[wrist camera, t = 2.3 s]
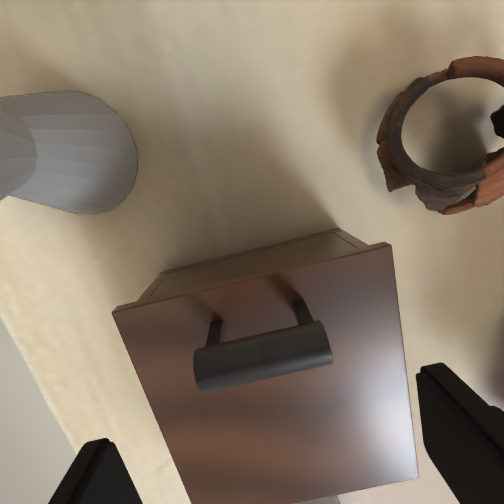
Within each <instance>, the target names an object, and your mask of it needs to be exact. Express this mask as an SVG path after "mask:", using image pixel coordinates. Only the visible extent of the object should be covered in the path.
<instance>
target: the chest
mask: <svg viewBox="0 0 504 504" xmlns="http://www.w3.org/2000/svg"><path fill="white" fill-rule="evenodd" d="M365 246H369V245H367V244H366V243H364V242H362V241H361V240H359V239H357V238H355V237H354V236H352V235H350V234H349V233H347V232H345V231H343V230H342V229H336V230H332V231H327V232H323V233H319V234H315V235H311V236H307V237H303V238H299V239H295V240H291V241H287V242H283V243H278V244H274V245H270V246H266V247H262V248H258V249H254V250H250V251H246V252H242V253H238V254H234V255H230V256H225V257H221V258H217V259H213V260H209V261H205V262H201V263H197V264H193V265H189V266H185V267H181V268H177V269H172V270H168V271H164V272H161V273H160V274H159V276H158V277H157V278H156V279H155V280H154V281H153V283H152V284H151V285H150V286H149V287H148V289H147V290H146V291H145V292H144V293H143V295H142V296H141V297H140V298H139V299H138V300H137V301H141V300H145V299H149V298H154V297H158V296H162V295H166V294H170V293H174V292H178V291H183V290H187V289H191V288H195V287H199V286H203V285H207V284H212V283H216V282H220V281H224V280H228V279H232V278H236V277H240V276H245V275H249V274H253V273H257V272H261V271H265V270H269V269H274V268H278V267H282V266H286V265H290V264H294V263H298V262H303V261H307V260H311V259H315V258H319V257H323V256H327V255H331V254H336V253H340V252H344V251H348V250H352V249H356V248H360V247H365Z"/></svg>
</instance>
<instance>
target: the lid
mask: <svg viewBox="0 0 504 504" xmlns="http://www.w3.org/2000/svg"><path fill="white" fill-rule="evenodd" d="M112 315H113V318H114V320H115V323H116V325H117V327H118V330H119V332H120V334H121V337H122V339H123V342H124V344H125V346H126V349H127V351H128V353H129V356H130V358H131V361H132V363H133V365H134V368H135V370H136V373H137V375H138V377H139V380H140V382H141V384H142V387H143V389H144V392H145V394H146V396H147V399H148V401H149V404H150V406H151V408H152V411H153V413H154V415H155V418H156V420H157V423H158V425H159V427H160V430H161V432H162V435H163V437H164V439H165V442H166V444H167V446H168V449H169V451H170V454H171V456H172V458H173V461H174V463H175V465H176V468H177V470H178V473H179V475H180V477H181V480H182V482H183V485H184V487H185V489H186V492H187V494H188V496H189V499H190V501H191V504H295V503H300V502H304V501H309V500H314V499H319V498H324V497H328V496H333V495H338V494H343V493H348V492H352V491H357V490H362V489H367V488H372V487H376V486H381V485H386V484H391V483H396V482H400V481H405V480H410V479H415V478H418V477H419V473H418V465H417V456H416V448H415V439H414V431H413V423H412V414H411V406H410V397H409V389H408V380H407V372H406V363H405V355H404V346H403V338H402V329H401V321H400V312H399V304H398V296H397V287H396V279H395V270H394V262H393V253H392V246H391V245H390V244H388V243H386V242H381V243H377V244H373V245H369V246H365V247H360V248H356V249H352V250H348V251H344V252H340V253H336V254H331V255H327V256H323V257H319V258H315V259H311V260H307V261H303V262H298V263H294V264H290V265H286V266H282V267H278V268H274V269H269V270H265V271H261V272H257V273H253V274H249V275H245V276H240V277H236V278H232V279H228V280H224V281H220V282H216V283H212V284H207V285H203V286H199V287H195V288H191V289H187V290H183V291H178V292H174V293H170V294H166V295H162V296H158V297H154V298H149V299H145V300H141V301H137V302H133V303H129V304H125V305H121V306H117V307H116V308H115V309H114V310H113V311H112Z"/></svg>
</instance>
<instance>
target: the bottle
mask: <svg viewBox="0 0 504 504" xmlns="http://www.w3.org/2000/svg"><path fill="white" fill-rule="evenodd" d="M295 504H340V502H339V500H338V498H337V497H336V495H333V496H328V497H324V498H319V499H314V500H309V501H304V502H300V503H295Z"/></svg>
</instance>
